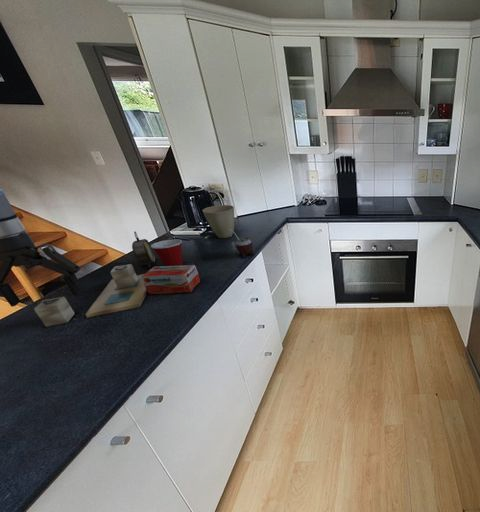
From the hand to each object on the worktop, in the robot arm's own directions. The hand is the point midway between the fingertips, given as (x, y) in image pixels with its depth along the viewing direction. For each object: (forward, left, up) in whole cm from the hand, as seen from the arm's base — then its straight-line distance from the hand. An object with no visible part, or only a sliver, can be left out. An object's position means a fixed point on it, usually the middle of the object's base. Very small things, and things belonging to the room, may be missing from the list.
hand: (47, 298), depth 84 cm
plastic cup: (+27, +27, -9) cm, 39 cm away
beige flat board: (+14, +10, -9) cm, 19 cm away
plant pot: (+46, +59, -9) cm, 75 cm away
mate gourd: (+55, +27, -9) cm, 62 cm away
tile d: (0, 0, -9) cm, 9 cm away
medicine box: (+30, +7, -9) cm, 32 cm away
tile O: (+14, +15, -7) cm, 22 cm away
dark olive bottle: (+16, +34, -9) cm, 39 cm away
